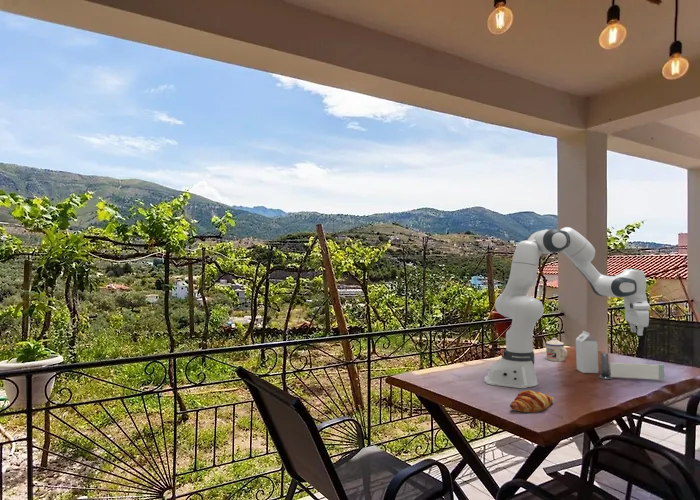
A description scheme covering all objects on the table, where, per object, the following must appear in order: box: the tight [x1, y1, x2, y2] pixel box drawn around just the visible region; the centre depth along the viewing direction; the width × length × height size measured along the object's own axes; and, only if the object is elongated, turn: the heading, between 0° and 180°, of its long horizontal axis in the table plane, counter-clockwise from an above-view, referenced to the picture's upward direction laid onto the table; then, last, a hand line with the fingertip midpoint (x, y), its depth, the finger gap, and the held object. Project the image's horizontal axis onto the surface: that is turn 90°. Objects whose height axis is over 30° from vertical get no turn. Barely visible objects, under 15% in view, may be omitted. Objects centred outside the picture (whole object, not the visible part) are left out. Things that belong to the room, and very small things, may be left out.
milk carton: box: [575, 330, 600, 374], centre depth 203 cm, size 7×7×19 cm
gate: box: [609, 362, 665, 381], centre depth 187 cm, size 20×2×6 cm, turn 72°
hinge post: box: [598, 352, 613, 381], centre depth 191 cm, size 5×5×11 cm
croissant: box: [509, 389, 554, 413], centre depth 155 cm, size 21×10×8 cm, turn 116°
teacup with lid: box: [545, 337, 568, 362], centre depth 226 cm, size 12×9×12 cm
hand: (636, 333), depth 193 cm, fingers open, 7 cm apart
